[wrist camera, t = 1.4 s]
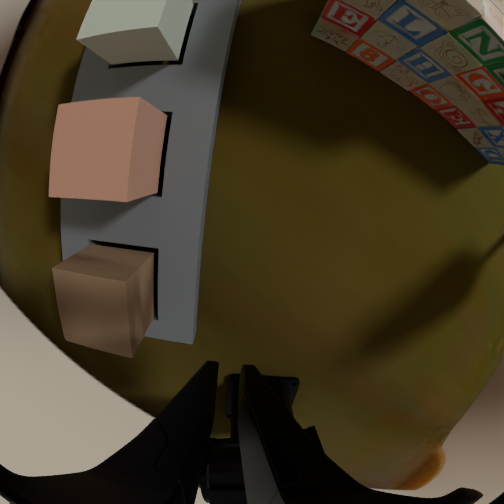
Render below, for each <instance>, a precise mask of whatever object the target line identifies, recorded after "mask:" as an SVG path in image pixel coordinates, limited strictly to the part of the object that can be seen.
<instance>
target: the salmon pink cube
mask: <svg viewBox="0 0 504 504" xmlns="http://www.w3.org/2000/svg"><path fill="white" fill-rule="evenodd" d="M166 120H167V115H166V114H164V113H163V112H161V111H160V110H158V109H157V108H156V107H154V106H153V105H151V104H150V103H148V102H147V101H145V100H144V99H142V98H141V97H124V98H109V99H98V100H88V101H80V102H72V103H66V104H59V105H58V110H57V116H56V122H55V128H54V135H53V143H52V152H51V163H50V178H49V197H60V198H77V199H92V200H106V201H119V202H129V201H132V200H135V199H138V198H141V197H145V196H148V195H151V194H155V193H157V192H158V182H159V172H160V163H161V155H162V147H163V140H164V133H165V126H166Z"/></svg>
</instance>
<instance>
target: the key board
mask: <svg viewBox="0 0 504 504" xmlns="http://www.w3.org/2000/svg"><path fill="white" fill-rule="evenodd" d="M192 2H193V8H192V11H191V14H190V16H192V15H195V17H194V20H193V23H192V27H191V31H190V34H189V38H188V42H187V46H186V50H185V54H184V59H183V63H182V65H147V66H132V67H121V64H122V63H120V64H112V65H111V64H110V63H109V62H107V61H106V60H104V59H103V58H102V57H100V56H99V55H97V54H96V53H94V52H93V51H92V50H90V49H89V48H87V47H86V48H85V51H84V54H83V57H82V61H81V64H80V68H79V71H78V75H77V79H76V83H75V87H74V92H73V96H72V101H71V103H72V102H80V101H88V100H98V99H109V98H124V97H141V98H142V99H144V100H145V101H147V102H148V103H150V104H151V105H153V106H154V107H156V108H157V109H158V110H160V111H161V112H163V113H164V114H166V115H167V117H172V120H171V126H170V133H169V139H168V147H167V154H166V162H165V171H164V181H163V191H162V194H157V193H155V194H151V195H148V196H145V197H141V198H138V199H135V200H132V201H129V202H119V201H106V200H92V199H77V198H61V242H62V257H63V261H64V260H65V259H67V258H69V257H70V256H72V255H74V254H75V253H77V252H79V251H80V250H82V249H84V248H86V247H87V246H89V245H91V244H93V245H100V246H101V241H104V242H112V243H120V244H127V245H135V246H143V247H151V248H158V249H159V254H158V307H155V306H154V318H153V320H152V322H151V324H150V326H149V327H148V329H147V331H146V333H145V335H144V336H146V337H151V338H157V339H162V340H168V341H174V342H181V343H187V344H193V341H194V337H195V333H196V324H197V306H198V291H199V277H200V264H201V252H202V241H203V231H204V221H205V212H206V202H207V194H208V185H209V177H210V169H211V162H212V154H213V147H214V140H215V133H216V127H217V120H218V114H219V108H220V102H221V96H222V90H223V85H224V79H225V74H226V68H227V63H228V58H229V53H230V48H231V43H232V38H233V33H234V29H235V24H236V20H237V15H238V11H239V7H240V3H241V0H192Z"/></svg>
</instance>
